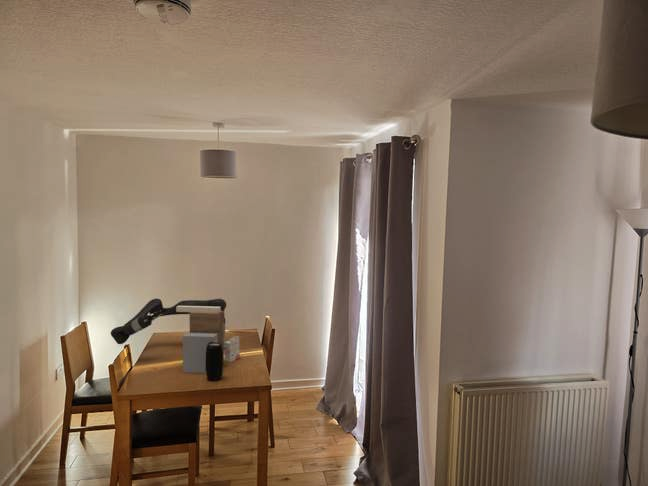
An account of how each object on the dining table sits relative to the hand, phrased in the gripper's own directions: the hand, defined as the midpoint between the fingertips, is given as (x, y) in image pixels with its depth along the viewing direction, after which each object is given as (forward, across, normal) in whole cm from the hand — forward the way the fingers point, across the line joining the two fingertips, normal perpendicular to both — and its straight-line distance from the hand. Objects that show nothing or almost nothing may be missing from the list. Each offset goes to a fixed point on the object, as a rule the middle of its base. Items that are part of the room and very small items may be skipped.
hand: (163, 310), depth 260 cm
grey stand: (+8, -12, +41) cm, 44 cm away
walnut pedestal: (+8, -2, +41) cm, 42 cm away
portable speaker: (+19, -23, +47) cm, 56 cm away
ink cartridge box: (+18, +10, +47) cm, 51 cm away
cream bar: (+20, -2, +11) cm, 22 cm away
